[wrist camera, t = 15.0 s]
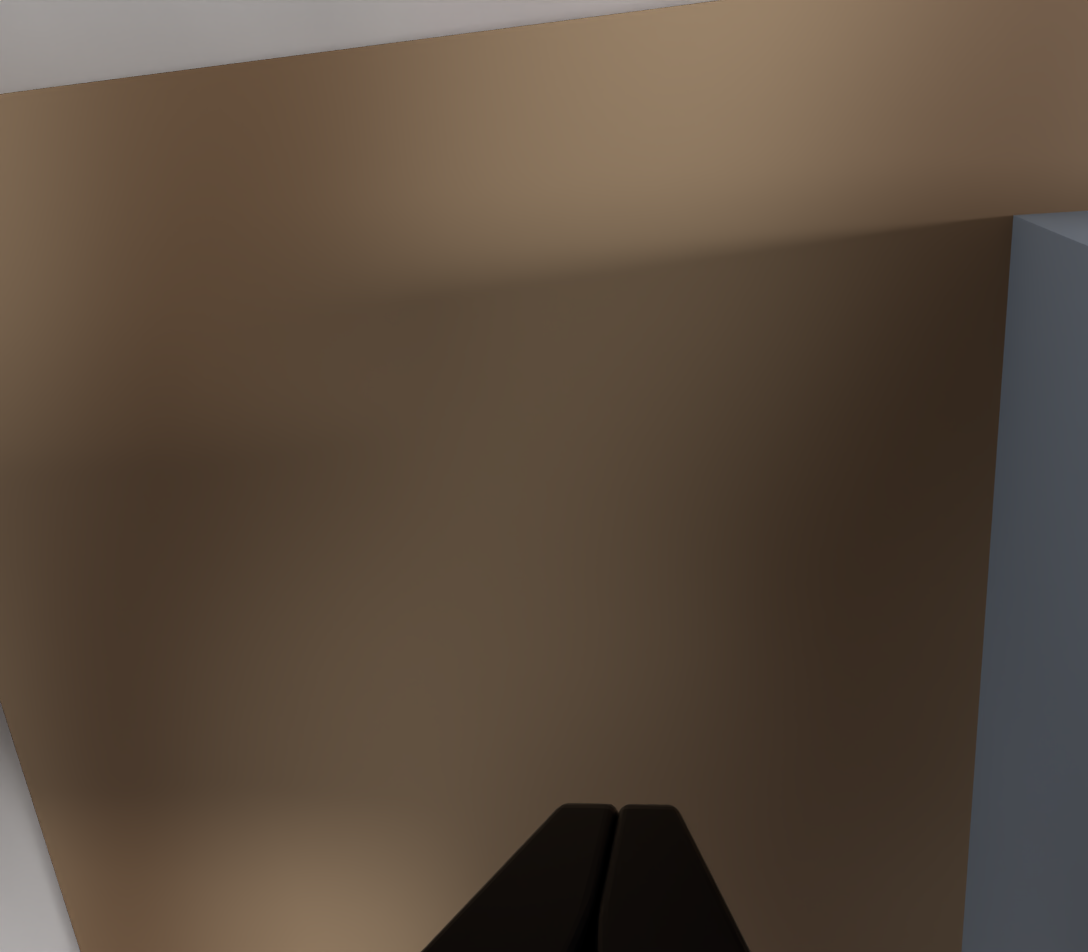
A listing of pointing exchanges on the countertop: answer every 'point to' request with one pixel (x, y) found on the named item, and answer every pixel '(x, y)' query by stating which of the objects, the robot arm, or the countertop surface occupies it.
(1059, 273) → the grey rectangular block
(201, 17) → the countertop surface
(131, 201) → the shelf
